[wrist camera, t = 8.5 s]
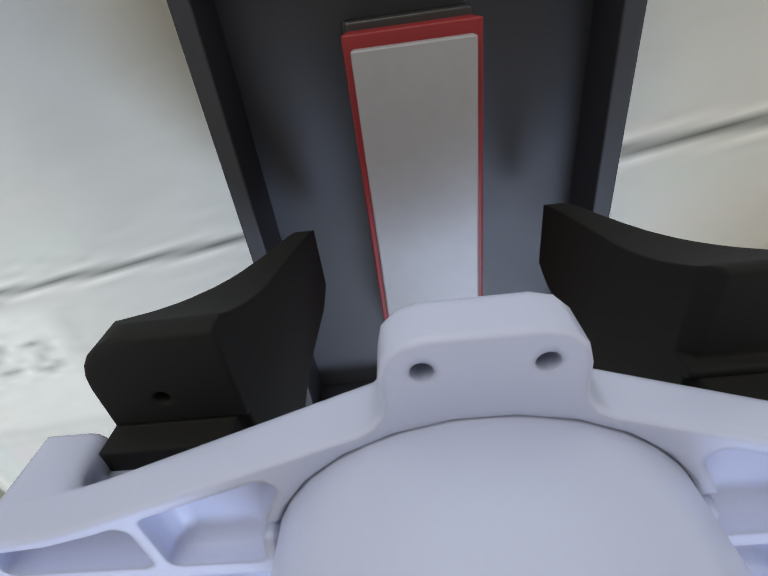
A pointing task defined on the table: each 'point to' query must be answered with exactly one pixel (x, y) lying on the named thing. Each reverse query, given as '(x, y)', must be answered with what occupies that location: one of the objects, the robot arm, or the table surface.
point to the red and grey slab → (420, 148)
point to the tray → (340, 153)
